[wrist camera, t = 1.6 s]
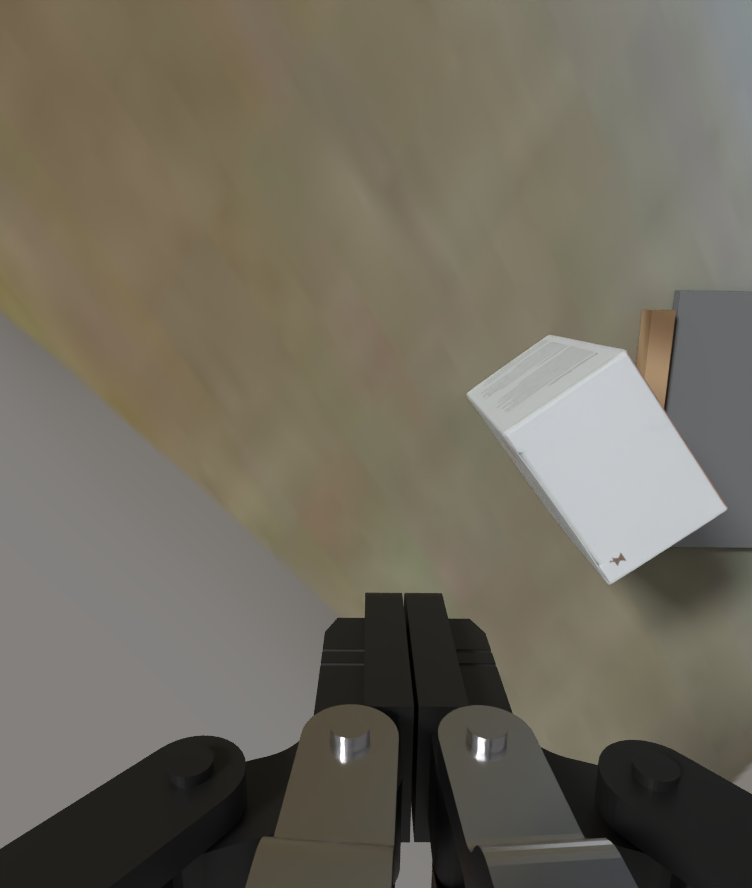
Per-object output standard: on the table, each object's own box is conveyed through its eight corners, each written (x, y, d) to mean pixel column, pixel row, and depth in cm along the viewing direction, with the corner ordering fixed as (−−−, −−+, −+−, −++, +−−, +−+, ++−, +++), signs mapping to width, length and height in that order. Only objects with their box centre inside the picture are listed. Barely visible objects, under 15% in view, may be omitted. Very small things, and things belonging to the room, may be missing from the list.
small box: (627, 448, 35) (735, 513, 24) (542, 505, 35) (612, 591, 25) (549, 330, 33) (630, 345, 23) (462, 392, 34) (501, 434, 23)
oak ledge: (642, 309, 33) (652, 310, 32) (665, 309, 33) (676, 310, 32) (618, 525, 36) (626, 533, 34) (639, 526, 36) (648, 533, 34)
